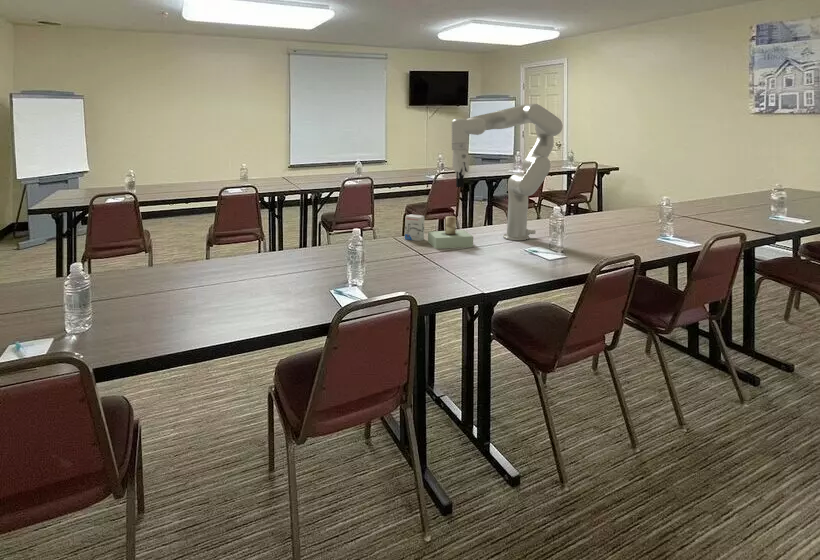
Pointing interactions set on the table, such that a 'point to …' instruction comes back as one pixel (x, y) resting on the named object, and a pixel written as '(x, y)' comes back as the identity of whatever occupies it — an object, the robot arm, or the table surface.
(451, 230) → the peg
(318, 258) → the table surface
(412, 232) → the ink box
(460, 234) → the board
